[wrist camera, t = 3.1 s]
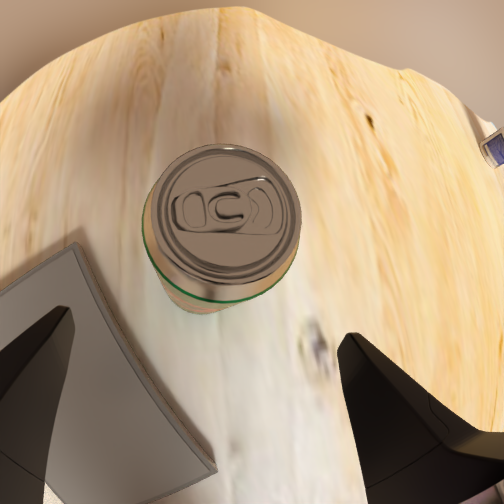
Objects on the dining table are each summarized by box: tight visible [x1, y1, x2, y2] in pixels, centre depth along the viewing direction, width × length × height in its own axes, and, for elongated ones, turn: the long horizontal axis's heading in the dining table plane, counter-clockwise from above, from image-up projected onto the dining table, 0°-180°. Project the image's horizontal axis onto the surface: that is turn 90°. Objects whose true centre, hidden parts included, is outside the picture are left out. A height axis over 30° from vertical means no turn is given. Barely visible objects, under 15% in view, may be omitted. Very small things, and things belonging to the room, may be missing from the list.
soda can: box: [142, 144, 302, 314], centre depth 14 cm, size 5×5×12 cm
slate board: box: [0, 242, 218, 504], centre depth 14 cm, size 18×13×1 cm
